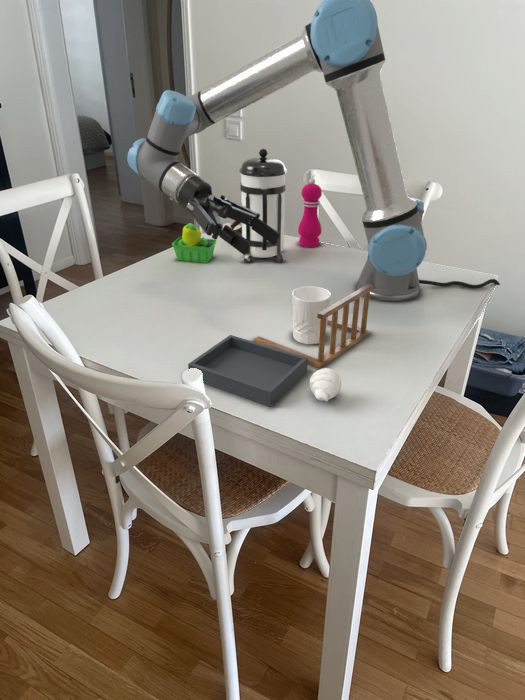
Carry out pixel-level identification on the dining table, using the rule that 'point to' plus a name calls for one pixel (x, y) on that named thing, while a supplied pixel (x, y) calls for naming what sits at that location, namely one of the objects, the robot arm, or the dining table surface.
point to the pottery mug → (235, 226)
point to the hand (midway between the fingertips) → (263, 244)
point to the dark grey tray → (250, 369)
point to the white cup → (308, 312)
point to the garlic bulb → (325, 384)
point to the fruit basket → (193, 245)
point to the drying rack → (335, 328)
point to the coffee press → (264, 203)
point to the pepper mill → (310, 215)
